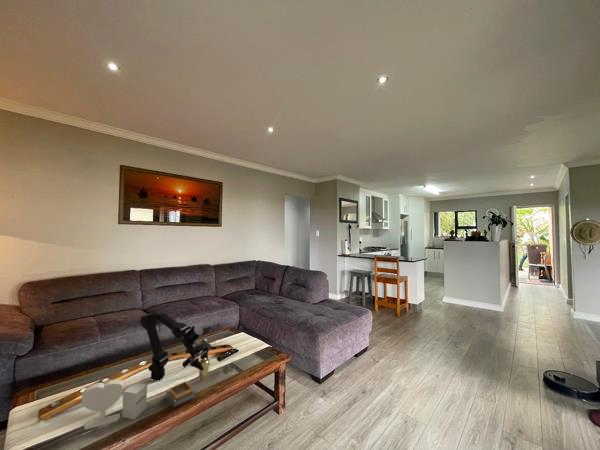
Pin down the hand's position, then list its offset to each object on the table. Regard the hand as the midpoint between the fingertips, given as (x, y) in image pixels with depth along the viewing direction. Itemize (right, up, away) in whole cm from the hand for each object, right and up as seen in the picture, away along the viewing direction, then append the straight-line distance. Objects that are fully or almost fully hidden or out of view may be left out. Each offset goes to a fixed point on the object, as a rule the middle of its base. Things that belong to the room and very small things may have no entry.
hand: (206, 367), depth 142 cm
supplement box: (-29, -13, -18) cm, 36 cm away
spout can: (-2, -7, 0) cm, 7 cm away
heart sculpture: (-40, -12, -24) cm, 48 cm away
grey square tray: (-12, -13, -6) cm, 18 cm away
